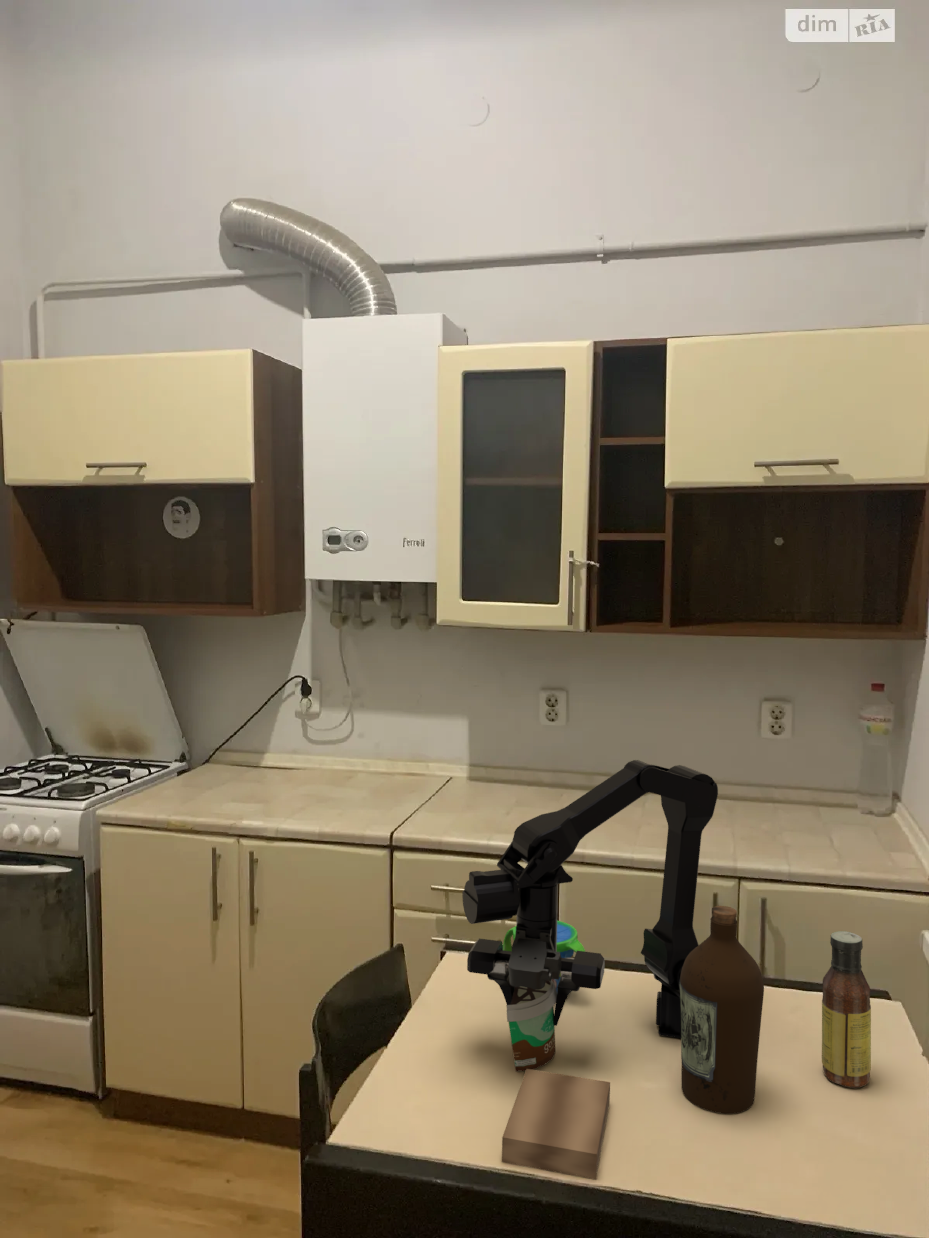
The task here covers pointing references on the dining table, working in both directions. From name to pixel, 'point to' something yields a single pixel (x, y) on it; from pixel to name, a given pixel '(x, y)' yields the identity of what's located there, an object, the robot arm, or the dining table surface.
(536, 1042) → the food container
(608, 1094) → the base board
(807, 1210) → the dining table surface
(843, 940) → the sauce bottle
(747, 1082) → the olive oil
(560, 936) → the snack cup
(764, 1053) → the dining table surface
